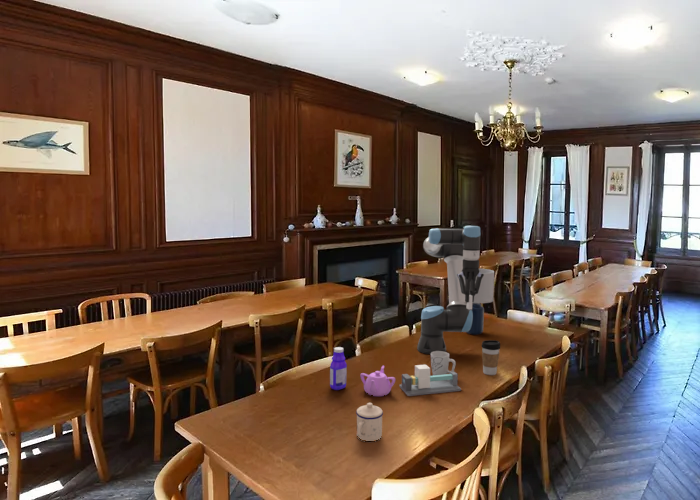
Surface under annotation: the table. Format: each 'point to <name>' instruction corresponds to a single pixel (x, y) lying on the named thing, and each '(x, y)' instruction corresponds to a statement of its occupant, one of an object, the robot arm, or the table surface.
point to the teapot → (377, 383)
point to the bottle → (338, 369)
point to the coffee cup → (490, 356)
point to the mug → (441, 363)
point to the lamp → (481, 300)
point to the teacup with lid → (369, 422)
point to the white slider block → (422, 376)
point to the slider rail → (435, 386)
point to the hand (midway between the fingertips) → (469, 308)
